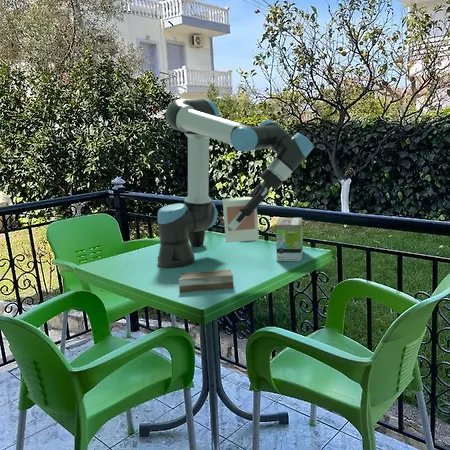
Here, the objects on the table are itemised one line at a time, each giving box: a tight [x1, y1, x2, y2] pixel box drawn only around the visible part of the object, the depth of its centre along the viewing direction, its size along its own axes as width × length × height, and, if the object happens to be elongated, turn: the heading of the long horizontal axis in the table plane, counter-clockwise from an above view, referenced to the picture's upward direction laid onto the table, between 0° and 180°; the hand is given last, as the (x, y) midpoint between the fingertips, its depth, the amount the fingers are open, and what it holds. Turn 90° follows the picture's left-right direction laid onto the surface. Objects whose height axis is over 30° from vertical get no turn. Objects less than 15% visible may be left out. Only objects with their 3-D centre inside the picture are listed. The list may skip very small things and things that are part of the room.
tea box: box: [275, 217, 304, 262], centre depth 179 cm, size 15×10×15 cm, turn 168°
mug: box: [188, 230, 206, 248], centre depth 209 cm, size 8×12×10 cm
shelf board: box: [178, 269, 234, 293], centre depth 155 cm, size 14×18×4 cm
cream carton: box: [222, 196, 260, 243], centre depth 151 cm, size 6×11×14 cm, turn 92°
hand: (230, 226), depth 152 cm, fingers closed on cream carton, 6 cm apart
